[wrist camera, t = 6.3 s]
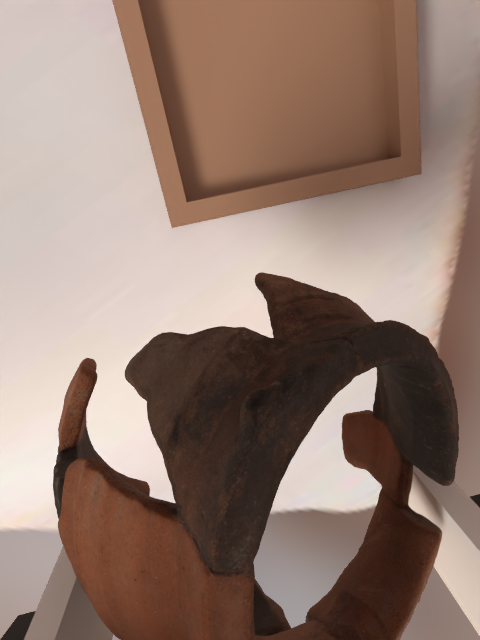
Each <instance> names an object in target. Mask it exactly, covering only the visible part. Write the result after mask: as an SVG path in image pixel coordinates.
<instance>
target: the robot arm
mask: <svg viewBox="0 0 480 640" xmlns="http://www.w3.org/2000/svg"><path fill="white" fill-rule="evenodd" d="M378 483H379V482H378ZM379 484H380V483H379ZM380 486H381V487H382V485H381V484H380ZM408 505H409V507H410V508H411V509H412V510H413V511H415V512H416V513H418V514H421V515H423V516H424V517H426V518H427V519H429V520H430V521H431V522H433V523H434V524H435V525H437V526H438V527H439V528H440V529H441V530H442V539H441V543H440V547H439V550H438V554H437V557H436V559H435V563H434V565H433V566H434V567H435V569H436V570H437V572H438V574H439V575H440V577H441V578H442V580H443V581H444V583H445V584H446V586H447V587H448V589H449V590H450V592H451V593H452V595H453V596H454V598H455V599H456V601H457V602H458V604H459V605H460V607H461V608H462V610H463V611H464V613H465V614H466V616H467V617H468V619H469V620H470V622H471V623H472V625H473V626H474V628H475V630H476V631H477V632H478V634H479V635H480V494H478V495H475V496H471V497H469V496H468V495H467V494H466V493H465V492H464V491H463V490H462V489H461V488H460V487H459V485H458V484H457V483H456V482H455V481H453V483H452V484H451V485H449V486H442V485H440V484H438V483H437V482H435V481H433V480H432V479H431V478H429V477H428V476H426V475H425V474H424V473H423V472H421V471H420V470H419V469H418V468H416V467H415V466H413V479H412V486H411V491H410V494H409V501H408ZM112 637H113V633H112V632H111V631H110V630H109V629H108V628H107V627H106V626H105V624H104V623H103V621H102V620H101V619H100V617H99V615H98V614H97V612H96V611H95V609H94V607H93V605H92V603H91V601H90V599H89V598H88V596H87V594H86V593H85V591H84V590H83V588H82V586H81V584H80V582H79V580H78V579H77V577H76V575H75V573H74V570H73V567H72V565H71V562H70V560H69V558H68V556H67V554H66V552H65V549H64V546H63V548H62V550H61V553H60V555H59V558H58V560H57V562H56V565H55V567H54V569H53V572H52V574H51V577H50V579H49V581H48V584H47V586H46V588H45V591H44V593H43V595H42V598H41V600H40V602H39V605H38V608H37V610H36V611H34V612H30V613H26V614H23V615H19V616H18V617H17V618H16V619H15V621H14V622H13V623H12V625H11V626H10V627H9V629H8V630H7V631H6V633H5V634H4V635H3V637H2V638H1V640H112Z"/></svg>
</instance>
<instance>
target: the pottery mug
mask: <svg viewBox="0 0 480 640" xmlns="http://www.w3.org/2000/svg"><path fill="white" fill-rule="evenodd" d="M255 284H256V286H257V288H258V289H259V290H260V291H261V292H262V294H263V295H264V298H265V299H266V301H267V306H268V312H269V316H270V321H271V327H272V329H273V336H274V338H269V337H266V336H264V335H261V334H259V333H257V332H254V331H252V330H250V329H247V328H245V327H237V328H233V327H225V326H222V327H214V328H210V329H206V330H203V331H200V332H197V333H194V334H189V335H186V334H179V333H173V332H168V333H162V334H159V335H157V336H156V337H154V338H153V339H152V340H151V341H150V342H149V343H148V344H147V345H145V346H144V347H143V348H142V350H141V351H139V352H138V353H137V354H136V355H135V356H134V357H133V358H132V359H131V360H130V362H129V364H128V365H127V367H126V370H125V378H126V380H127V381H128V382H129V383H130V384H131V385H132V386H133V387H134V388H135V389H136V391H137V392H138V394H139V395H140V396H141V397H142V398H143V399H145V400H146V401H147V412H148V420H149V423H150V427H151V431H152V434H153V436H154V438H155V440H156V442H157V445H158V446H159V448H160V450H161V452H162V454H163V458H164V463H165V467H166V470H167V473H168V477H169V480H170V482H171V485H172V490H173V495H174V499H175V502H176V503H170V502H168V501H164V500H159V499H155V498H152V497H150V496H149V494H150V488H149V485H148V483H147V482H144V481H141V480H137V479H133V478H129V477H127V476H125V475H123V474H121V473H118V472H116V471H115V470H114V469H112V468H111V467H110V466H109V465H108V464H107V463H106V462H104V460H103V459H102V458H101V457H100V456H99V455H98V454H97V453H96V451H95V450H94V448H93V446H92V444H91V441H90V439H89V436H88V431H87V428H86V408H87V406H88V402H89V400H90V397H91V394H92V392H93V389H94V386H95V384H96V381H97V373H96V362H95V361H94V360H93V359H90V358H86V359H84V360H83V361H82V362H81V364H80V366H79V368H78V369H77V371H76V373H75V375H74V377H73V379H72V381H71V383H70V385H69V387H68V390H67V392H66V395H65V399H64V406H63V411H62V415H61V419H60V423H59V429H58V431H59V447H58V455H57V460H56V465H55V467H54V479H53V490H54V497H55V506H56V509H57V514H58V518H59V521H58V529H59V534H60V537H61V540H62V543H63V546H64V549H65V552H66V554H67V556H68V558H69V560H70V562H71V565H72V567H73V570H74V573H75V575H76V577H77V579H78V580H79V582H80V584H81V586H82V588H83V590H84V591H85V593H86V594H87V596H88V598H89V599H90V601H91V603H92V605H93V607H94V609H95V611H96V612H97V614H98V615H99V617H100V619H101V620H102V621H103V623H104V624H105V626H106V627H107V628H108V629H109V630H110V631H111V632H112V633H113V634H114V635H115V636H116V637H117V638H119V639H121V640H400V638H401V636H402V633H403V632H404V629H405V628H406V626H407V625H408V623H409V621H410V619H411V617H412V614H413V612H414V609H415V607H416V605H417V603H418V602H419V601H420V597H421V594H422V592H423V590H424V588H425V586H426V584H427V581H428V578H429V575H430V573H431V571H432V568H433V565H434V563H435V559H436V557H437V554H438V550H439V547H440V543H441V539H442V530H441V529H440V528H439V527H438V526H437V525H435V524H434V523H433V522H431V521H430V520H429V519H427V518H426V517H424V516H423V515H421V514H418V513H416V512H415V511H413V510H412V509H411V508H410V507H409V505H408V501H409V494H410V491H411V486H412V479H413V466H415V467H416V468H418V469H419V470H420V471H421V472H423V473H424V474H425V475H426V476H428V477H429V478H431V479H432V480H433V481H435V482H437V483H438V484H440V485H442V486H449V485H451V484H452V483H453V481H454V478H455V467H456V462H457V458H458V441H459V435H458V434H459V425H458V414H457V413H458V412H457V404H456V399H455V395H454V388H453V386H452V381H451V379H450V376H449V373H448V371H447V369H446V368H445V366H444V363H443V361H442V360H441V359H440V358H438V354H437V352H436V350H435V348H434V347H433V346H432V344H431V343H430V341H429V339H428V337H426V336H424V335H422V334H419V333H418V332H417V331H416V330H414V329H412V328H411V327H410V326H408V325H406V324H403V323H400V322H397V321H391V320H388V321H384V322H374V321H373V320H372V319H371V318H370V317H369V316H368V315H367V314H366V313H365V312H364V311H363V310H362V309H361V307H360V306H359V305H358V304H356V303H354V302H353V301H351V300H350V299H349V298H347V297H344V296H340V295H339V294H336V293H331V292H328V291H324V290H322V289H319V288H316V287H313V286H311V285H308V284H305V283H301V282H298V281H295V280H293V279H291V278H287V277H282V276H277V275H272V274H266V273H259V274H257V275H256V277H255ZM374 367H377V386H376V392H375V401H374V405H373V412H372V411H370V410H365V411H360V412H353V413H348V414H345V415H344V416H343V422H342V440H343V451H344V455H345V458H346V460H347V461H348V462H349V463H350V464H352V465H353V466H354V467H357V468H361V469H365V470H367V471H368V472H369V473H370V474H371V475H372V476H373V477H374V478H375V479H376V480H377V481H378V482H379V483H380V484H381V485H382V489H381V491H380V494H379V499H378V503H377V506H376V509H375V511H374V514H373V517H372V519H371V522H370V524H369V526H368V529H367V533H366V536H365V538H364V542H363V544H362V546H361V547H360V548H359V552H358V553H357V555H356V556H355V558H354V559H353V560H352V561H351V562H350V563H349V564H348V566H347V567H346V568H345V569H344V571H343V573H342V574H341V575H340V577H339V578H338V580H337V582H336V584H335V585H334V586H333V588H332V589H331V590H330V591H329V593H328V594H327V595H326V596H324V597H323V598H322V599H321V600H320V601H319V602H318V603H317V604H315V605H314V606H313V607H311V608H310V610H309V611H308V613H307V616H306V623H303V624H301V625H299V626H297V627H294V628H291V627H290V625H289V623H288V621H287V619H286V618H285V615H284V612H283V609H282V608H281V607H280V606H279V605H278V604H277V603H276V602H274V601H273V600H272V599H271V598H269V597H268V596H266V595H265V594H264V592H263V590H262V589H261V587H260V585H259V584H258V583H257V581H256V580H255V575H254V565H253V561H254V558H255V556H256V554H257V552H258V549H259V546H260V541H261V539H262V535H263V533H264V530H265V527H266V523H267V519H268V516H269V514H270V511H271V508H272V504H273V501H274V498H275V495H276V492H277V490H278V487H279V484H280V482H281V480H282V478H283V476H284V474H285V472H286V470H287V468H288V465H289V463H290V461H291V459H292V458H293V456H294V455H295V453H296V451H297V449H298V447H299V446H300V444H301V442H302V441H303V439H304V438H305V437H306V435H307V434H308V432H309V431H310V429H311V427H312V426H313V424H314V422H315V421H316V419H317V418H318V416H319V415H320V414H321V413H322V411H323V410H324V409H325V407H326V406H327V405H328V404H329V402H330V401H331V400H332V398H333V397H334V396H335V395H336V394H337V393H338V392H339V391H340V390H342V389H343V388H344V387H345V386H346V385H348V384H349V383H350V382H351V381H352V379H353V378H354V377H355V376H358V375H360V374H361V373H364V372H366V371H368V370H370V369H372V368H374Z"/></svg>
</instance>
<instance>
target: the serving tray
mask: <svg viewBox="0 0 480 640" xmlns="http://www.w3.org/2000/svg"><path fill="white" fill-rule="evenodd" d="M113 4H114V8H115V12H116V15H117V19H118V23H119V27H120V31H121V35H122V38H123V42H124V46H125V50H126V54H127V58H128V61H129V65H130V69H131V73H132V77H133V81H134V84H135V88H136V92H137V96H138V100H139V104H140V107H141V111H142V115H143V119H144V123H145V127H146V130H147V134H148V138H149V142H150V146H151V150H152V153H153V157H154V161H155V165H156V169H157V173H158V176H159V180H160V184H161V188H162V192H163V195H164V199H165V203H166V207H167V211H168V215H169V218H170V222H171V226H172V228H174V227H178V226H183V225H187V224H192V223H197V222H201V221H206V220H210V219H215V218H220V217H224V216H229V215H234V214H238V213H243V212H247V211H252V210H257V209H261V208H266V207H270V206H275V205H280V204H284V203H289V202H293V201H298V200H303V199H307V198H312V197H316V196H321V195H326V194H330V193H335V192H340V191H344V190H349V189H353V188H358V187H363V186H367V185H372V184H376V183H381V182H386V181H390V180H395V179H399V178H404V177H409V176H413V175H418V174H421V149H420V116H419V83H418V50H417V17H416V0H113Z"/></svg>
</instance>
